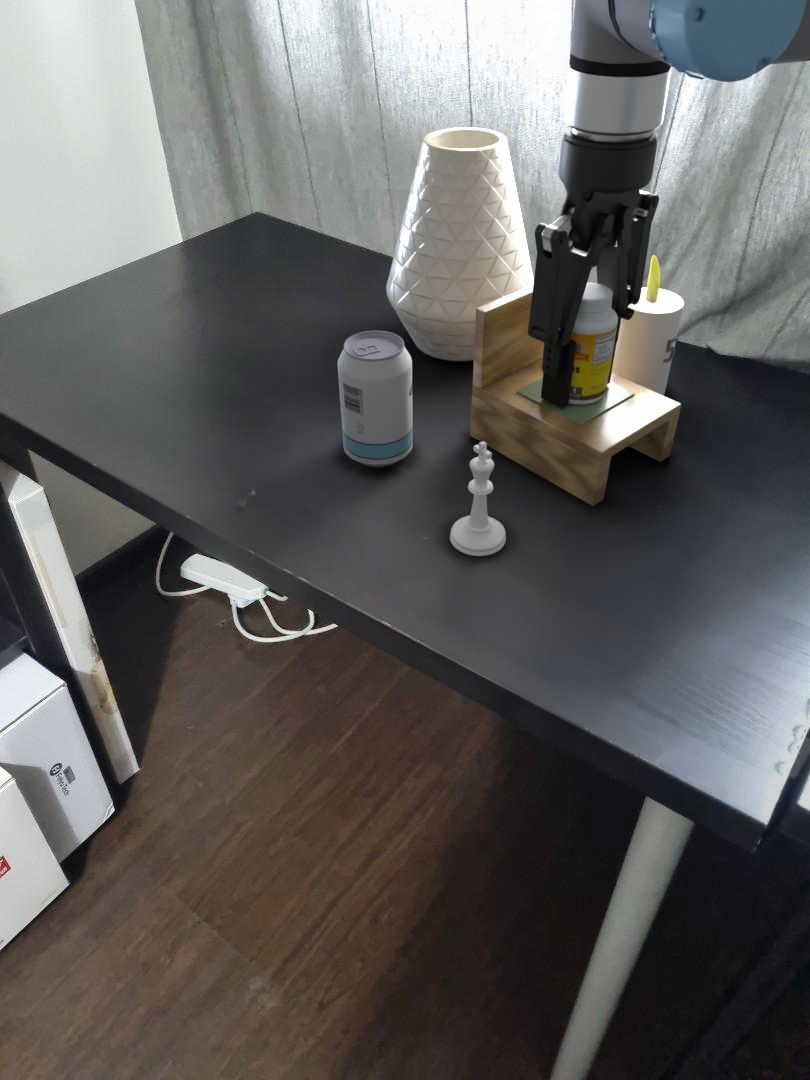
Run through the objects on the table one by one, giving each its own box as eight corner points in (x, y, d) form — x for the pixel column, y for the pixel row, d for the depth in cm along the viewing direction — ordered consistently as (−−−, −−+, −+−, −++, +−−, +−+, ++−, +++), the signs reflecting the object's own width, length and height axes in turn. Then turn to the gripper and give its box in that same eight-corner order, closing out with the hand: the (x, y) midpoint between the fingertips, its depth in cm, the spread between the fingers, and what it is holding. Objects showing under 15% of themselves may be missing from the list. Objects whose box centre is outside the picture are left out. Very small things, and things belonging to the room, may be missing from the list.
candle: (643, 411, 88) (670, 276, 79) (594, 389, 92) (615, 256, 82) (677, 391, 91) (708, 258, 82) (629, 370, 95) (652, 240, 85)
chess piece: (478, 513, 76) (484, 419, 69) (517, 539, 73) (526, 444, 66) (438, 535, 73) (439, 441, 67) (476, 564, 70) (482, 468, 64)
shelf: (669, 455, 82) (700, 324, 73) (592, 506, 76) (615, 370, 67) (547, 395, 91) (560, 272, 82) (470, 435, 85) (475, 308, 76)
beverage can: (423, 463, 82) (423, 353, 74) (357, 480, 80) (350, 368, 72) (398, 428, 86) (395, 322, 79) (335, 443, 85) (326, 335, 77)
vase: (478, 298, 110) (486, 109, 95) (559, 351, 99) (583, 145, 84) (363, 329, 104) (352, 132, 89) (435, 390, 92) (437, 174, 77)
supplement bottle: (535, 388, 80) (545, 287, 74) (579, 373, 82) (593, 273, 76) (573, 413, 77) (586, 309, 70) (618, 397, 79) (635, 294, 72)
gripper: (643, 99, 71) (605, 345, 86) (493, 142, 62) (479, 409, 77) (720, 115, 67) (665, 371, 82) (571, 164, 58) (540, 442, 73)
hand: (575, 389), depth 79 cm, fingers closed on supplement bottle, 6 cm apart
